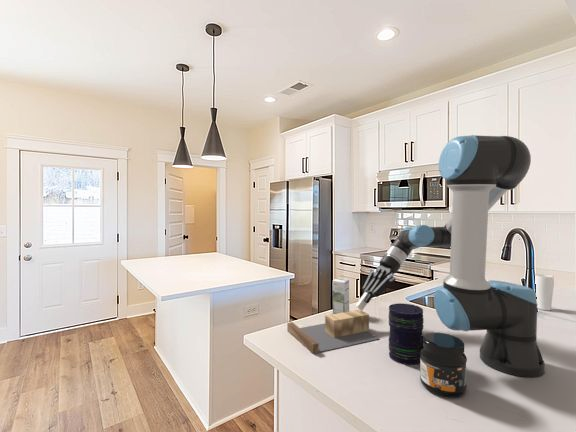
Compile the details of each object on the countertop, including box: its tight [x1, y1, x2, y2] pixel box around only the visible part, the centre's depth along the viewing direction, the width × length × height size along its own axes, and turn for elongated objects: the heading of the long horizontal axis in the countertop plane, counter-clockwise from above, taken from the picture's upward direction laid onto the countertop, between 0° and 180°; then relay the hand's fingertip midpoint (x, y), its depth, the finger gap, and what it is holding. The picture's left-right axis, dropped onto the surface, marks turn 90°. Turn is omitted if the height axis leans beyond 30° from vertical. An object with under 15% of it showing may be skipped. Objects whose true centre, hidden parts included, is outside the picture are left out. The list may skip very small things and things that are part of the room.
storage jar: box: [388, 303, 425, 366], centre depth 92 cm, size 10×10×15 cm
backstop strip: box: [286, 321, 319, 355], centre depth 104 cm, size 2×20×3 cm, turn 24°
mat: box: [299, 323, 380, 354], centre depth 110 cm, size 24×20×1 cm
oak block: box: [324, 309, 370, 338], centre depth 112 cm, size 6×6×15 cm
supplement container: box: [419, 332, 468, 398], centre depth 77 cm, size 10×10×12 cm
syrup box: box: [332, 277, 350, 314], centre depth 133 cm, size 6×6×14 cm
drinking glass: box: [534, 273, 555, 312], centre depth 135 cm, size 7×7×15 cm
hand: (358, 308), depth 115 cm, fingers closed
